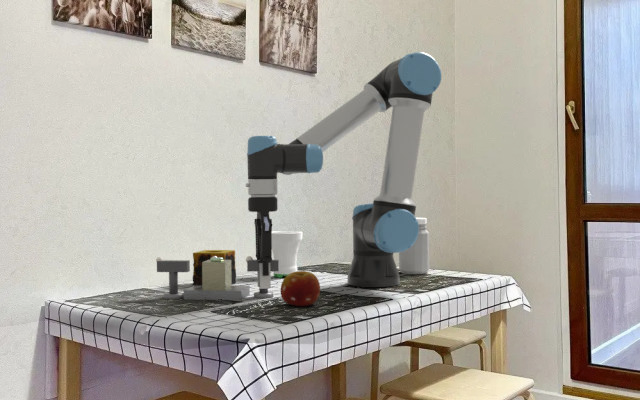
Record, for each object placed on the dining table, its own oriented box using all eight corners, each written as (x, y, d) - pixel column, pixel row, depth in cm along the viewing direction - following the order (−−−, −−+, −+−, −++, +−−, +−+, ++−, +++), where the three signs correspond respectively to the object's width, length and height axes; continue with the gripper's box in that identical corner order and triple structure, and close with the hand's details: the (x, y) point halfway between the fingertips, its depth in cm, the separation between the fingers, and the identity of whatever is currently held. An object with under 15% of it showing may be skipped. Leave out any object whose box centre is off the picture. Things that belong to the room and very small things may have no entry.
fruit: (288, 309, 156) (288, 275, 156) (275, 304, 164) (274, 271, 164) (326, 306, 160) (326, 272, 160) (311, 301, 168) (311, 268, 168)
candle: (225, 288, 192) (225, 253, 191) (191, 287, 194) (191, 252, 193) (237, 283, 202) (236, 249, 201) (205, 282, 204) (204, 249, 203)
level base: (249, 294, 178) (249, 254, 178) (241, 300, 169) (241, 257, 169) (194, 294, 180) (194, 254, 180) (183, 299, 171) (183, 257, 171)
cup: (309, 275, 217) (309, 231, 216) (289, 279, 207) (289, 233, 207) (281, 273, 223) (280, 230, 222) (260, 277, 213) (260, 232, 213)
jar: (408, 270, 229) (407, 217, 228) (434, 272, 223) (434, 217, 223) (393, 273, 221) (393, 218, 220) (420, 275, 215) (420, 219, 215)
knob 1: (191, 296, 176) (191, 256, 176) (185, 299, 171) (185, 257, 171) (160, 295, 177) (159, 255, 177) (153, 298, 172) (152, 257, 172)
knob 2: (280, 295, 177) (279, 255, 176) (278, 298, 172) (277, 257, 171) (247, 295, 177) (247, 255, 177) (244, 298, 172) (244, 257, 172)
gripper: (244, 196, 181) (245, 283, 181) (252, 196, 165) (253, 292, 166) (271, 195, 183) (273, 282, 183) (282, 196, 167) (284, 291, 167)
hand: (264, 287), depth 174 cm, fingers closed on knob 2, 3 cm apart
